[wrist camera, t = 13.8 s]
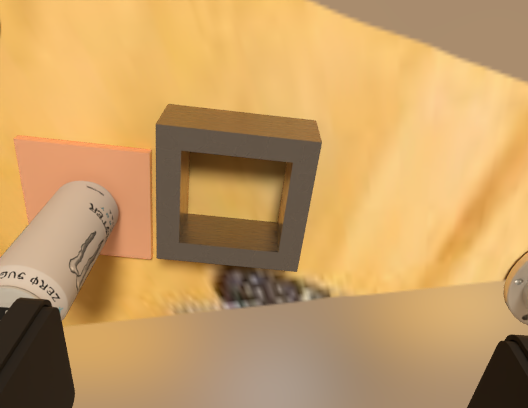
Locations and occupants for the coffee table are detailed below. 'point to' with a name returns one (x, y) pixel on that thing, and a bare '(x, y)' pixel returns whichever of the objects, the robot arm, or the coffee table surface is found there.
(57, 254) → the energy drink can
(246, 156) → the frame
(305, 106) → the coffee table surface
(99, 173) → the terracotta tile
